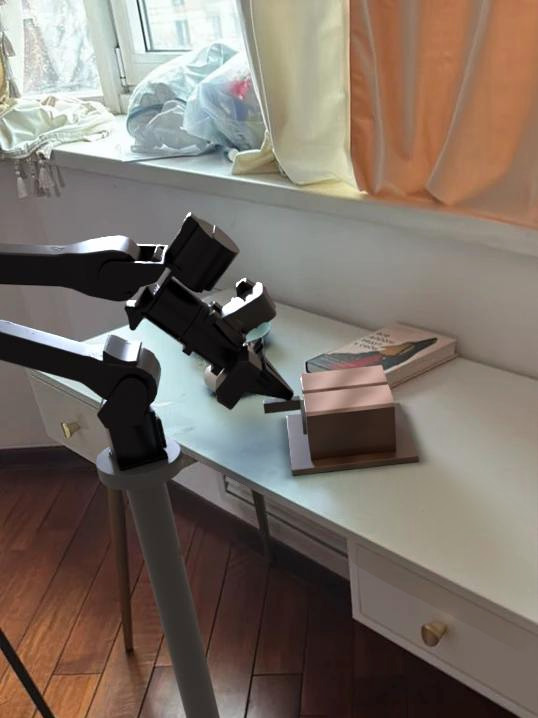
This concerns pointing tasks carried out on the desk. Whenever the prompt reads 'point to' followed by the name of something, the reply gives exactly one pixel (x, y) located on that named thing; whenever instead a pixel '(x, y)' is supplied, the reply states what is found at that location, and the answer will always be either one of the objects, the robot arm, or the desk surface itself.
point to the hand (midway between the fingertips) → (291, 396)
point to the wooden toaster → (348, 423)
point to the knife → (286, 407)
